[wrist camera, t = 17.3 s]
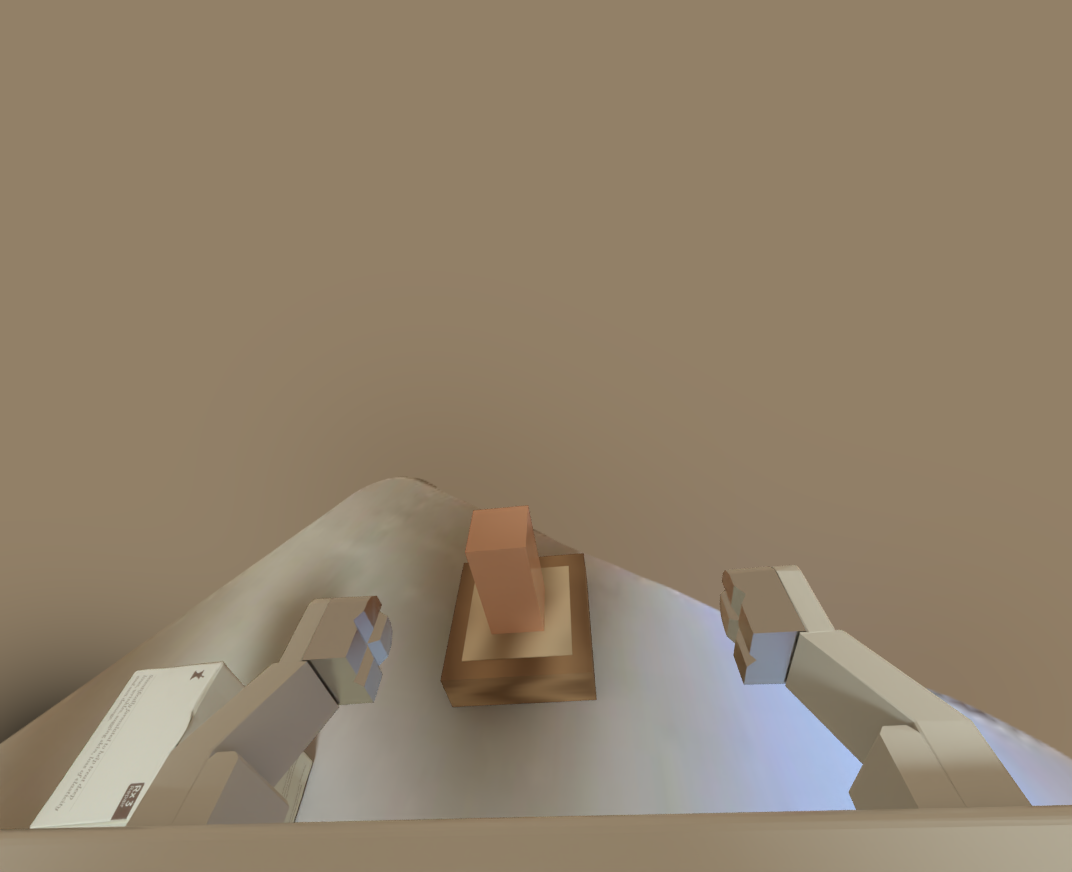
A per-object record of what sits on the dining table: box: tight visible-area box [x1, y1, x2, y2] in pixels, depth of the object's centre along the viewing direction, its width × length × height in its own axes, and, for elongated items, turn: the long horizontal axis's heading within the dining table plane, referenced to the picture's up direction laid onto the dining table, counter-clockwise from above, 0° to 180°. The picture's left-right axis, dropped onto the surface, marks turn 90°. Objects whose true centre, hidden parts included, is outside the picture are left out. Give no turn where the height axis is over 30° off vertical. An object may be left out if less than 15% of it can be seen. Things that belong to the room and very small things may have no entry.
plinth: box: [441, 553, 596, 707], centre depth 43 cm, size 12×12×4 cm
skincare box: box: [30, 661, 313, 829], centre depth 30 cm, size 8×6×15 cm
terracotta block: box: [465, 505, 545, 634], centre depth 39 cm, size 4×4×10 cm
